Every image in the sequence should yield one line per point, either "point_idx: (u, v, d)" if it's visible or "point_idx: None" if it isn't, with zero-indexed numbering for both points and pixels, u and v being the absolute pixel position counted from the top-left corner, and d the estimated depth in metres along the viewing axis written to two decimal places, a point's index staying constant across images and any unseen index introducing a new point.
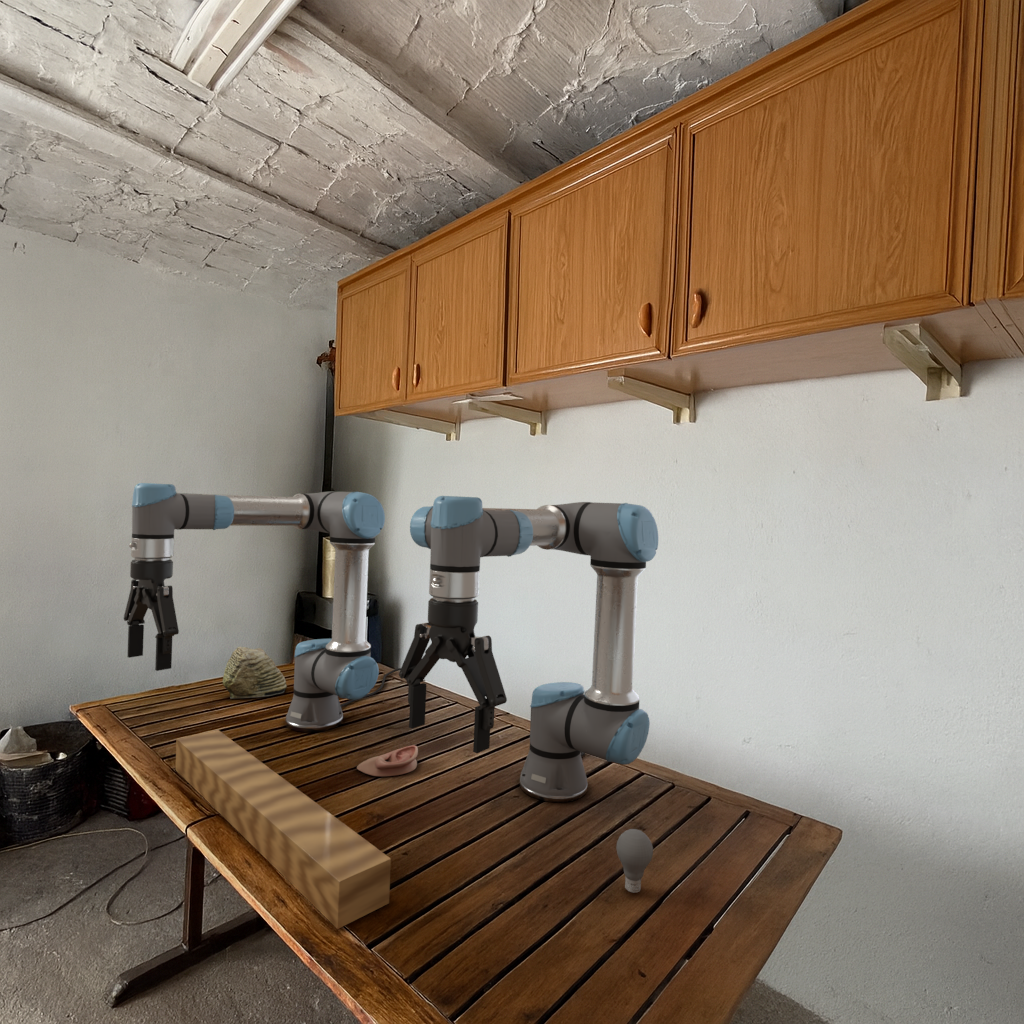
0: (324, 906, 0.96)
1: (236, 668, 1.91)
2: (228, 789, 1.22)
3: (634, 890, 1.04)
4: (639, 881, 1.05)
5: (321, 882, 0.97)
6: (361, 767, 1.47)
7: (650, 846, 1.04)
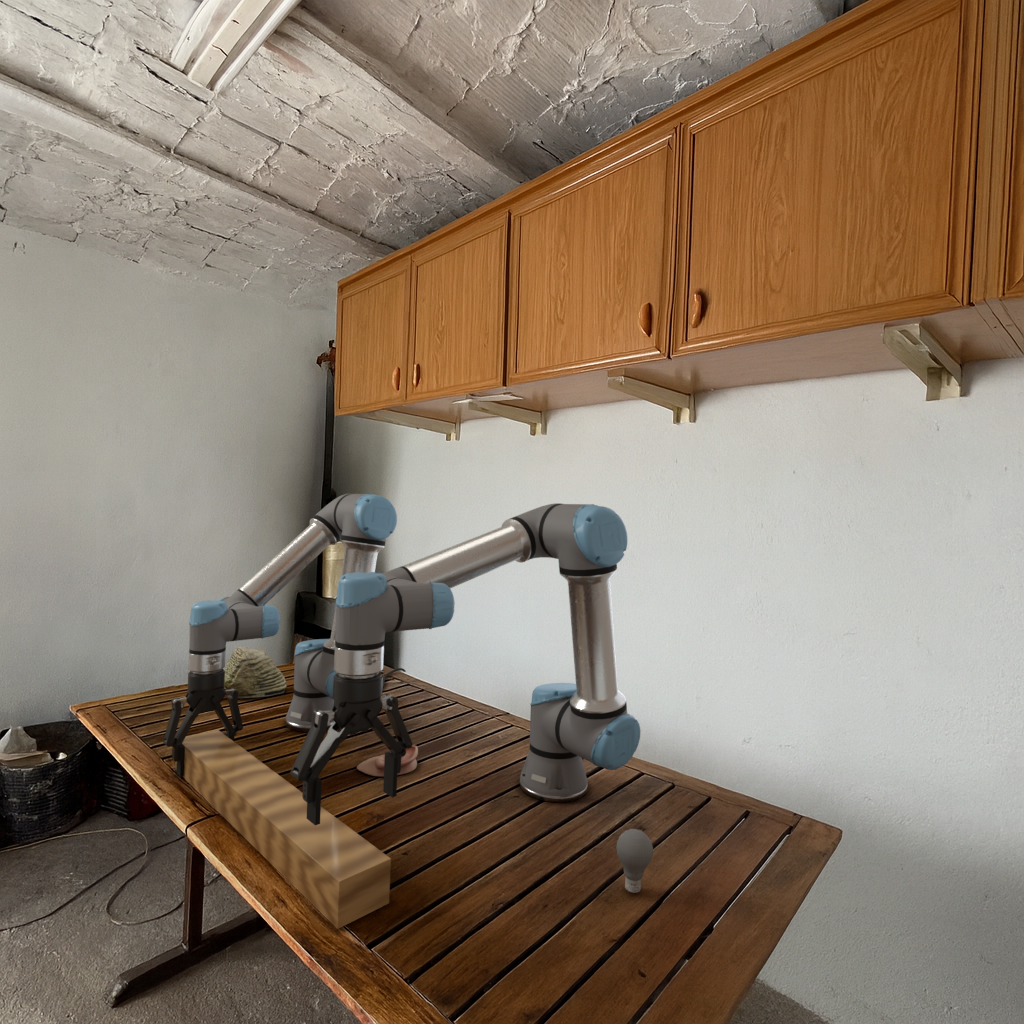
0: (324, 906, 0.96)
1: (236, 668, 1.91)
2: (228, 789, 1.22)
3: (634, 890, 1.04)
4: (639, 881, 1.05)
5: (321, 882, 0.97)
6: (361, 767, 1.47)
7: (650, 846, 1.04)
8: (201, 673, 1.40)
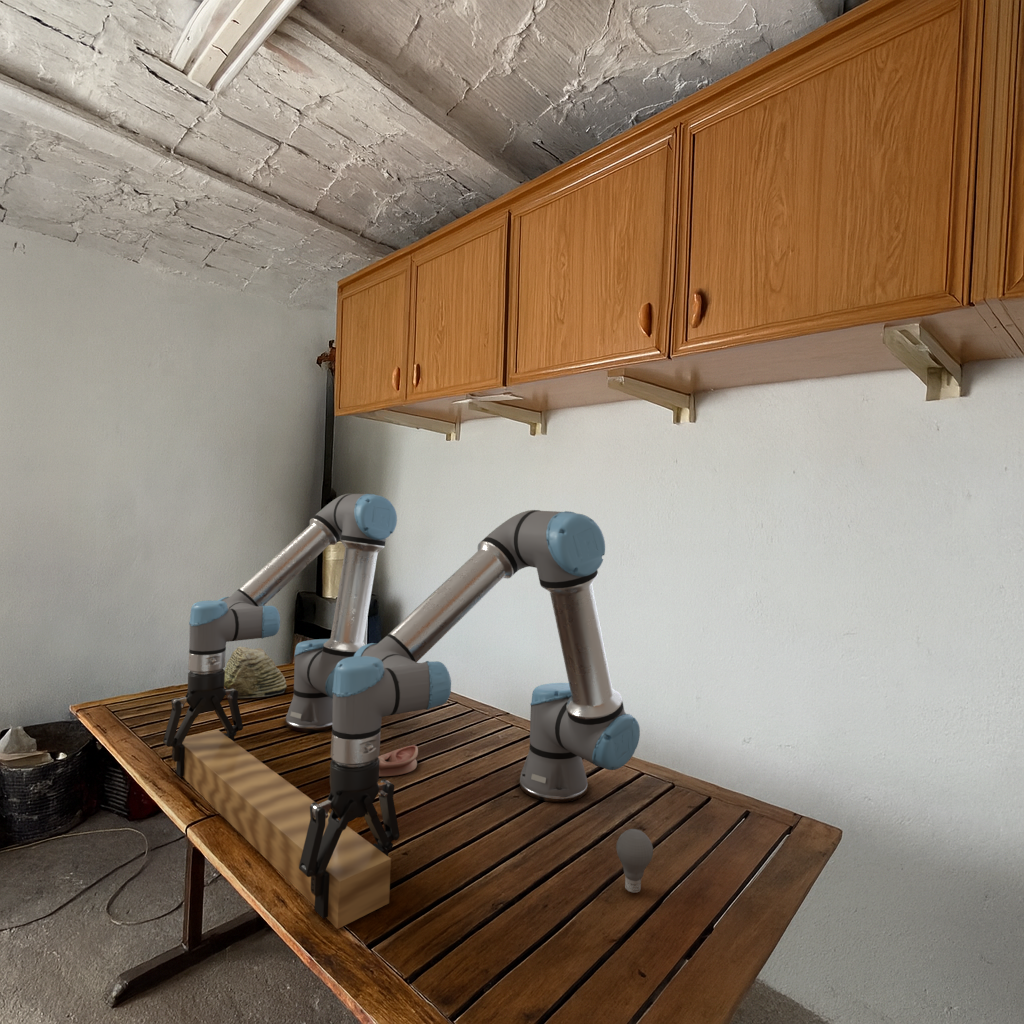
0: None
1: (236, 668, 1.91)
2: (228, 789, 1.22)
3: (634, 890, 1.04)
4: (639, 881, 1.05)
5: None
6: None
7: (650, 846, 1.04)
8: (201, 673, 1.40)
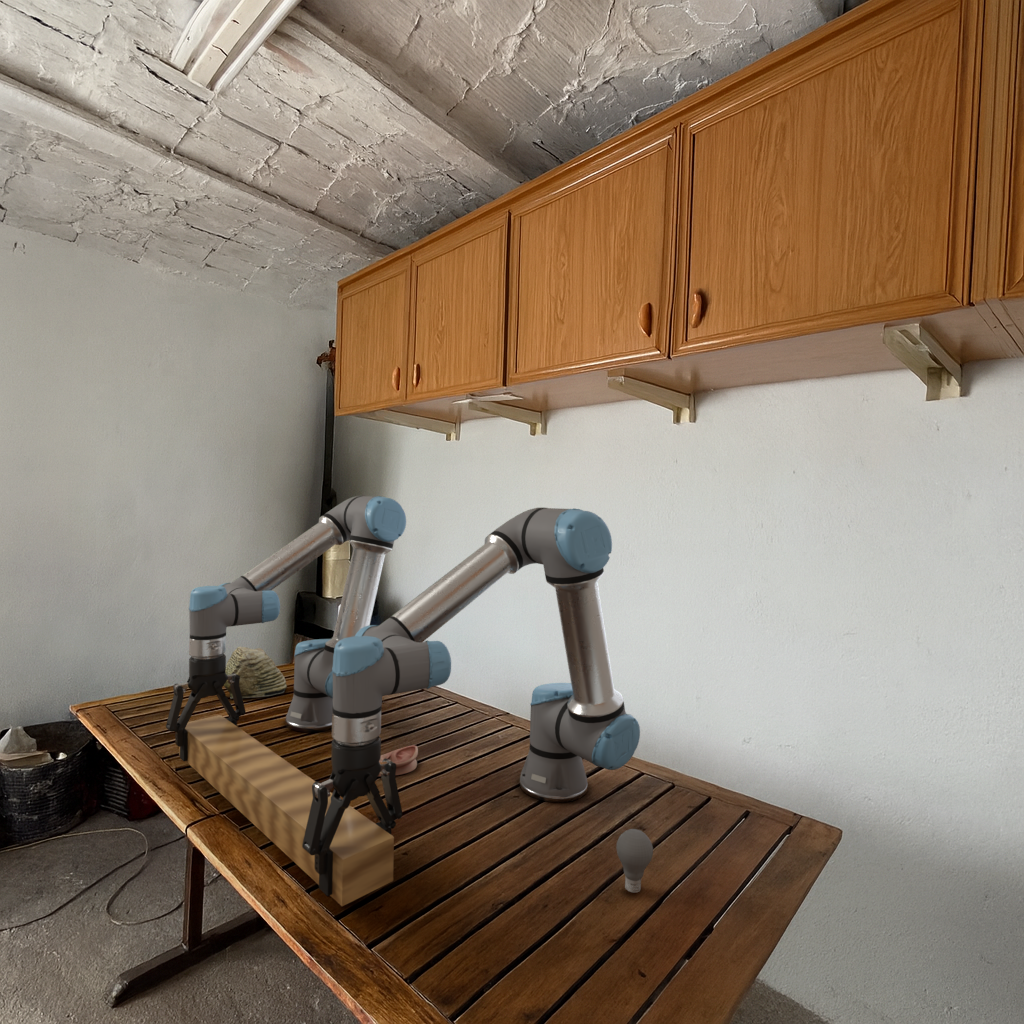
0: None
1: (236, 668, 1.91)
2: (231, 772, 1.23)
3: (634, 890, 1.04)
4: (639, 881, 1.05)
5: None
6: None
7: (650, 846, 1.04)
8: (202, 658, 1.40)
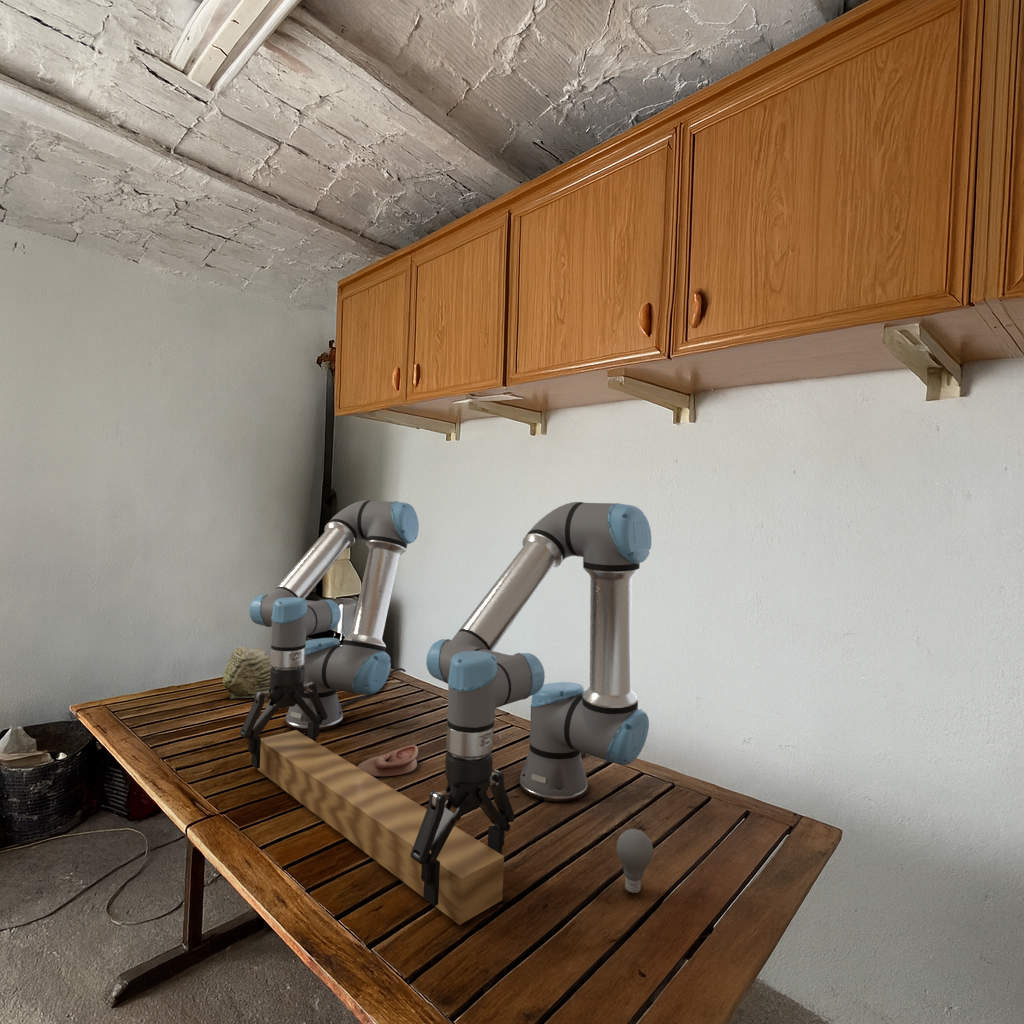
0: (443, 903, 0.98)
1: (236, 668, 1.91)
2: (323, 789, 1.24)
3: (634, 890, 1.04)
4: (639, 881, 1.05)
5: (439, 879, 0.99)
6: (361, 767, 1.47)
7: (650, 846, 1.04)
8: (284, 669, 1.42)
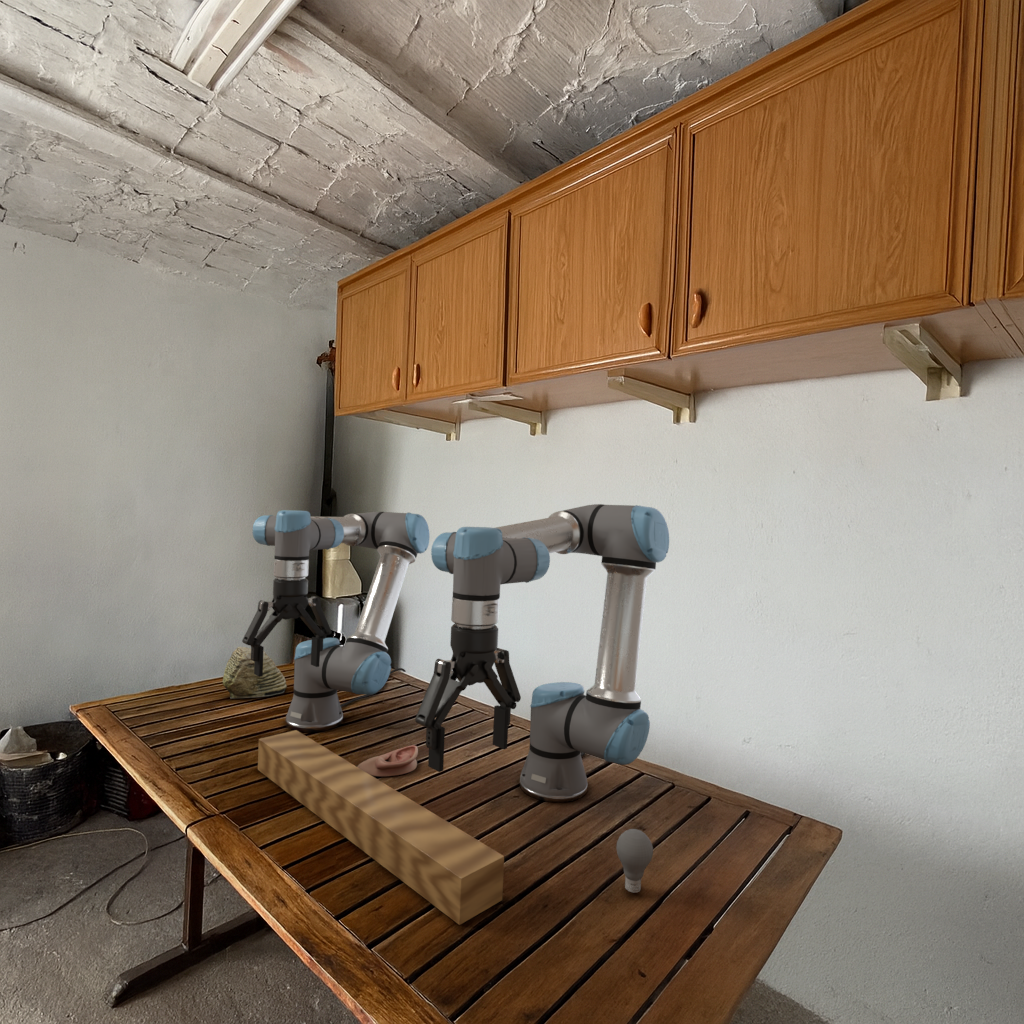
0: (443, 903, 0.98)
1: (236, 668, 1.91)
2: (323, 789, 1.24)
3: (634, 890, 1.04)
4: (639, 881, 1.05)
5: (439, 879, 0.99)
6: (361, 767, 1.47)
7: (650, 846, 1.04)
8: (287, 579, 1.42)
